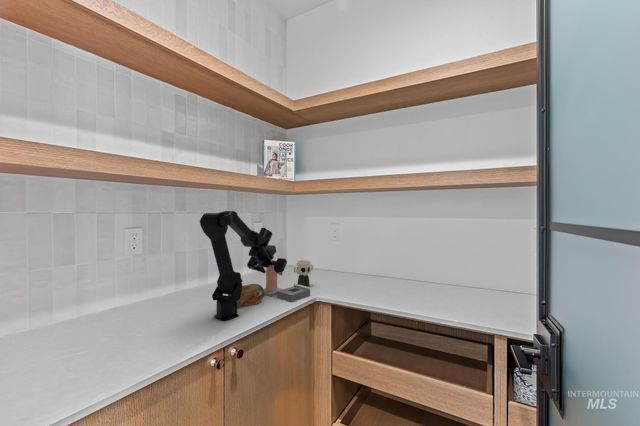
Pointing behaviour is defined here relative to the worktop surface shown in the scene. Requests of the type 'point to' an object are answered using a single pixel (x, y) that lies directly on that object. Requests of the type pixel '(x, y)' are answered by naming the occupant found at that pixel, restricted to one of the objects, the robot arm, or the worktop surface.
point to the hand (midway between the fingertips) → (273, 273)
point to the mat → (271, 292)
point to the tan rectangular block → (271, 279)
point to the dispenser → (294, 293)
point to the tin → (250, 295)
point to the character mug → (303, 272)
